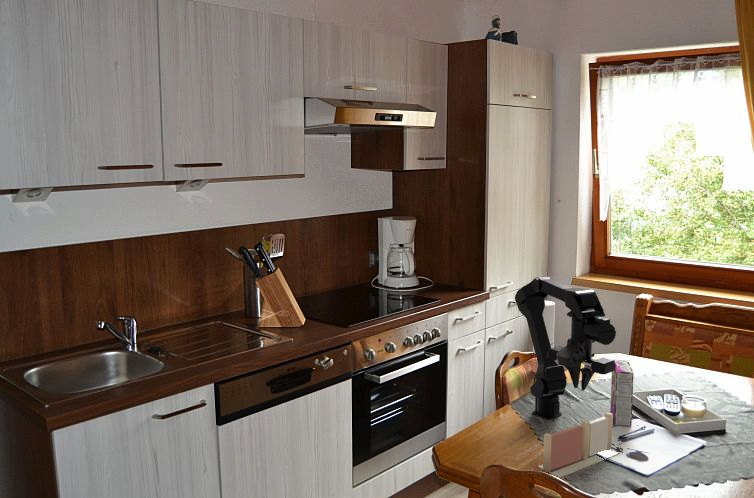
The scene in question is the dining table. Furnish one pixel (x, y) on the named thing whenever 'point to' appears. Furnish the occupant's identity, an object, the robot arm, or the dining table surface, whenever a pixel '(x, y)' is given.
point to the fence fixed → (596, 435)
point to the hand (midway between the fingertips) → (579, 389)
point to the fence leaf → (562, 448)
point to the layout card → (575, 466)
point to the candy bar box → (622, 393)
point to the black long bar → (549, 321)
